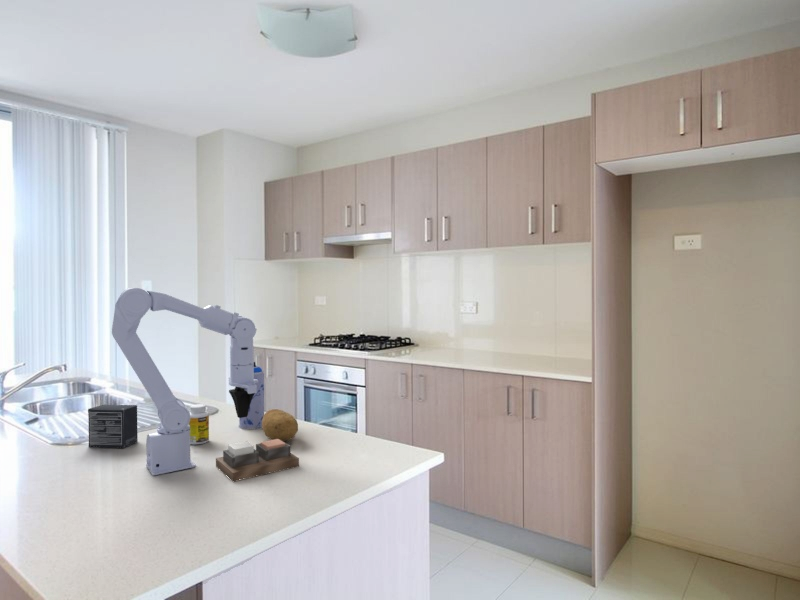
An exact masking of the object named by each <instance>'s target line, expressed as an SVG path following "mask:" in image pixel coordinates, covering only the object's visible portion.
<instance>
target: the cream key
mask: <svg viewBox="0 0 800 600" xmlns="http://www.w3.org/2000/svg"><path fill="white" fill-rule="evenodd" d="M227 448H228V449H227V450H228V452H229V453H230V454H231V455H233V456H234V457H235V456H239V455H244V454H249V453H254V449H255V446H254V445H253V444H252V443H251V442H249V441H248V440H247V441H239V442H236V443H235V442H234V443H231V444H228V445H227Z"/></svg>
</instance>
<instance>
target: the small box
mask: <svg viewBox="0 0 800 600" xmlns="http://www.w3.org/2000/svg"><path fill="white" fill-rule="evenodd" d="M87 412H88V413H87V414H88V448H99V449H100V448H101V449H102V448H105V449H125V448H128V447H129V446H131V445H133V444H135V443H137V442H138V405H137V404H136V405H135V404H100V405H97V406H93V407H90V408H88V409H87Z"/></svg>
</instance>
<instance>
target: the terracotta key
mask: <svg viewBox="0 0 800 600" xmlns="http://www.w3.org/2000/svg"><path fill="white" fill-rule="evenodd" d="M284 442H285V441H281V440H279V439H274V440H272V439H270V440H266V441H265V440H264V441H260V443H261V446H262V447H264V448H265V449H267V450H269V449H274V448H278V447H283V446H286V443H287V442H285V443H284Z"/></svg>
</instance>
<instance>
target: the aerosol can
mask: <svg viewBox="0 0 800 600" xmlns="http://www.w3.org/2000/svg"><path fill="white" fill-rule="evenodd" d="M254 379H257V380H258V383H255V385H257V393H255V394H254V396H253V398H252V400H251V403H250V407H249V412H248V415H247V417H243V418H239V417H238V418H239V420H238V421H239V424H238V428H239V429H241V430H257V429H261V428H262V419H263V416H264V415H265V372H264V370H263V369H262V367H260V366H258V365H257V364H256V361H254Z"/></svg>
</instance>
